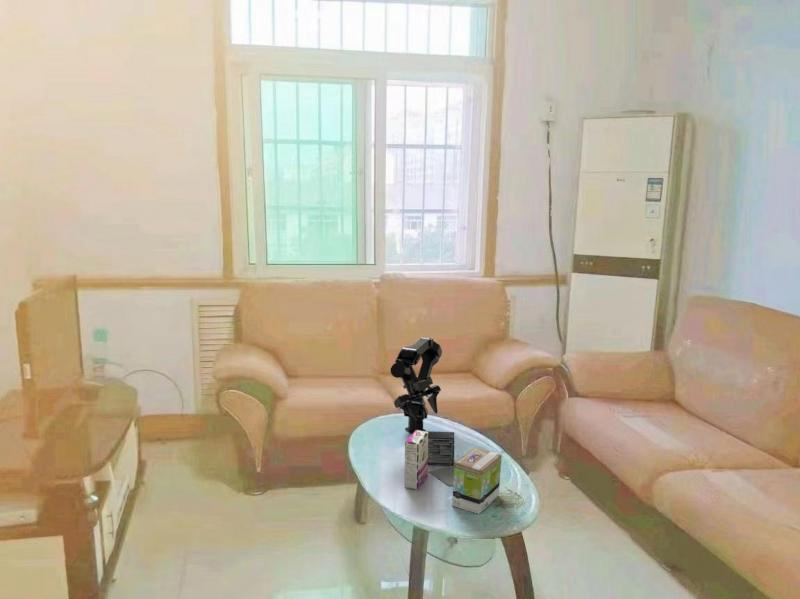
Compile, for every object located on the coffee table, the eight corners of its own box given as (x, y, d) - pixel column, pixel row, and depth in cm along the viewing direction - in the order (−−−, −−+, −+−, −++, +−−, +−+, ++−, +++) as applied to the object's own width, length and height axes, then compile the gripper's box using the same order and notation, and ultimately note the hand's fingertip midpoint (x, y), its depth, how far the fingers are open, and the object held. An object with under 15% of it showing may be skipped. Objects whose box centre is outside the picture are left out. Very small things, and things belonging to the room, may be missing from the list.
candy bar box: (414, 473, 216) (415, 429, 213) (428, 476, 214) (429, 431, 211) (403, 487, 205) (404, 441, 202) (417, 490, 204) (419, 443, 201)
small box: (454, 458, 228) (455, 431, 227) (454, 465, 222) (454, 438, 220) (425, 457, 229) (426, 430, 228) (424, 464, 223) (425, 436, 221)
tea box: (480, 515, 189) (482, 470, 187) (451, 506, 194) (452, 462, 192) (499, 495, 202) (502, 453, 199) (471, 487, 207) (473, 445, 204)
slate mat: (429, 472, 217) (429, 471, 217) (465, 462, 225) (465, 461, 225) (449, 486, 207) (449, 485, 207) (486, 475, 215) (486, 475, 215)
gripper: (398, 376, 227) (415, 415, 222) (438, 365, 237) (456, 402, 231) (386, 388, 236) (403, 426, 230) (426, 377, 245) (442, 412, 240)
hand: (426, 416), depth 233 cm, fingers open, 9 cm apart
